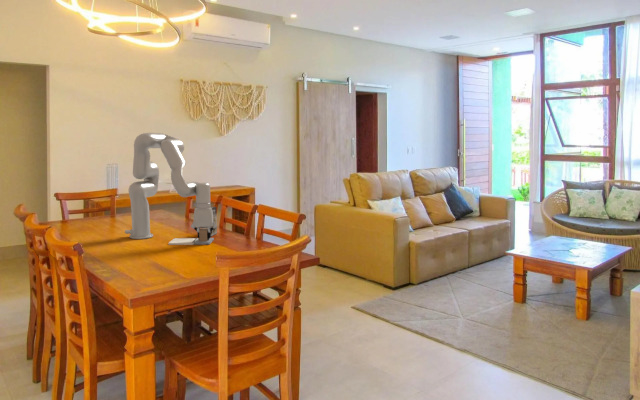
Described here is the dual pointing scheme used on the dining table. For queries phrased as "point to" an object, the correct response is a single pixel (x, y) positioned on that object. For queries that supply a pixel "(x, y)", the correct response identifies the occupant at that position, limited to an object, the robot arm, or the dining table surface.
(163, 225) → the dining table surface
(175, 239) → the board
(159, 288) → the dining table surface
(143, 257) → the dining table surface
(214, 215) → the coffee box
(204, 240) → the stub
